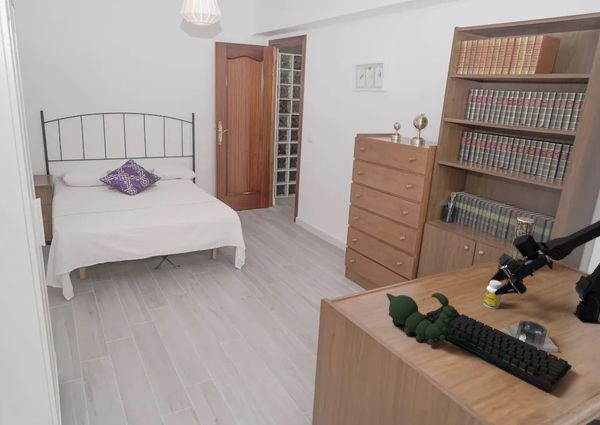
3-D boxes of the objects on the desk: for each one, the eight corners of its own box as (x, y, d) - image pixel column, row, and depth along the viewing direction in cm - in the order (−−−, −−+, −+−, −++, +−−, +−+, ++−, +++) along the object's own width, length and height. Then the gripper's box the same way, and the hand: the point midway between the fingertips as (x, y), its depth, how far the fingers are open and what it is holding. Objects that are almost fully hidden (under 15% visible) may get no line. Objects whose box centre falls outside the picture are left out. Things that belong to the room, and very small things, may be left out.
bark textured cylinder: (524, 275, 192) (536, 222, 185) (508, 273, 193) (519, 220, 186) (520, 269, 198) (531, 217, 191) (504, 267, 200) (515, 216, 192)
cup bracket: (540, 331, 147) (543, 319, 145) (557, 352, 135) (561, 339, 134) (504, 328, 147) (507, 316, 146) (518, 348, 136) (521, 335, 135)
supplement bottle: (480, 303, 164) (484, 280, 161) (490, 301, 166) (495, 278, 163) (491, 310, 159) (496, 286, 156) (501, 307, 161) (507, 284, 159)
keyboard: (569, 373, 126) (574, 359, 125) (549, 397, 115) (553, 382, 114) (441, 313, 156) (443, 301, 154) (415, 328, 145) (417, 315, 144)
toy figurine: (451, 349, 136) (390, 310, 154) (466, 299, 129) (401, 263, 147) (433, 360, 130) (373, 317, 148) (448, 307, 124) (383, 269, 141)
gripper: (509, 240, 164) (474, 262, 169) (524, 258, 146) (484, 283, 151) (527, 261, 165) (491, 283, 170) (543, 282, 147) (503, 306, 152)
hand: (491, 288), depth 161 cm, fingers open, 9 cm apart
